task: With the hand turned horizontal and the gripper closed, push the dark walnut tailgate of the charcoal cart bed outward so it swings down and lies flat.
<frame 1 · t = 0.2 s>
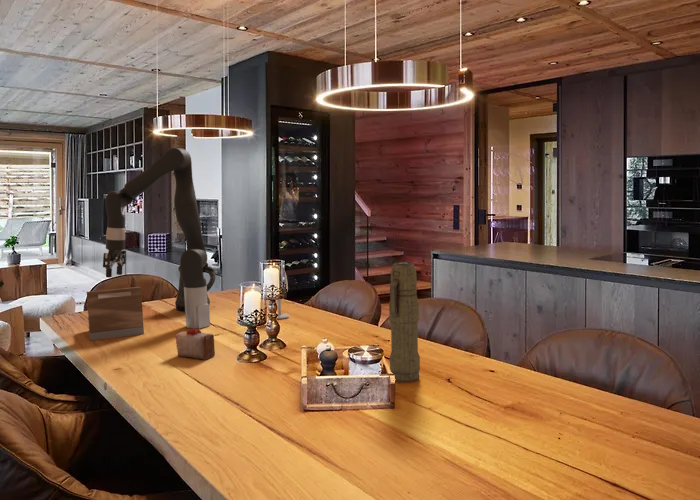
hand: (114, 275, 248), 22 cm above the table, tool pointing down, fingers open, 8 cm apart
food item: (195, 356, 204), on the table
wineglass: (279, 317, 260), on the table
beer stein: (196, 308, 285), on the table
cart bed: (116, 332, 240), on the table
tailgate: (115, 309, 231), point 11 cm above the table, hinge at 0.0°
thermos: (404, 378, 175), on the table
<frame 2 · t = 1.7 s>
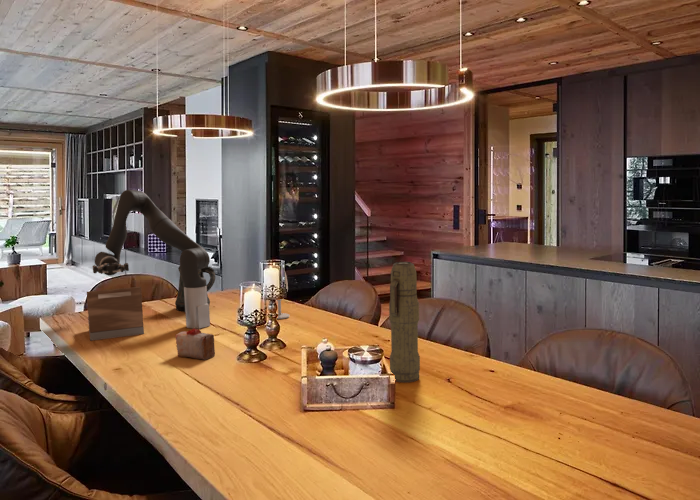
hand: (112, 270, 235), 26 cm above the table, tool horizontal, fingers open, 7 cm apart
nothing on the table moved.
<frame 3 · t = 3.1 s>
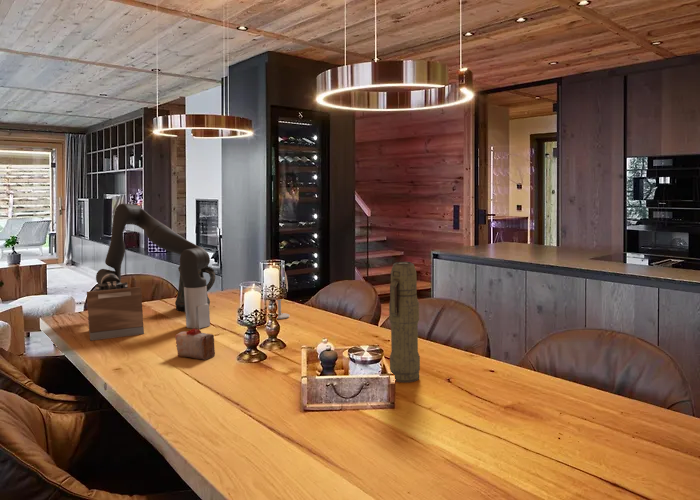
hand: (113, 290, 236), 18 cm above the table, tool horizontal, fingers closed
nothing on the table moved.
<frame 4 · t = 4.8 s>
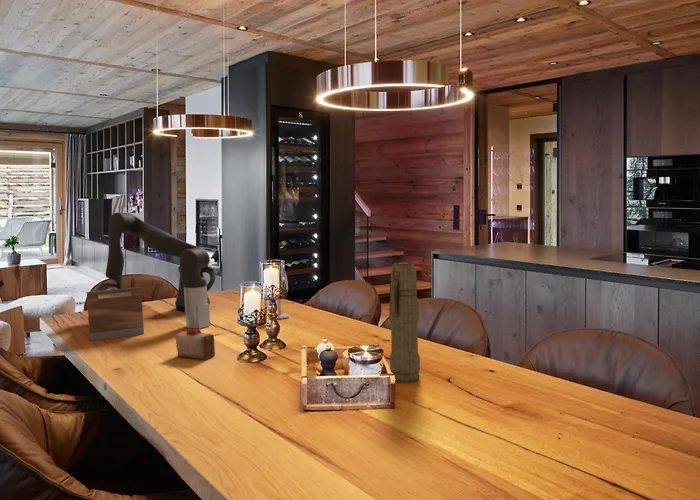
hand: (115, 304, 232), 13 cm above the table, tool horizontal, fingers closed
tailgate: (115, 309, 231), point 11 cm above the table, hinge at 2.2°, touching gripper
everything else where it was.
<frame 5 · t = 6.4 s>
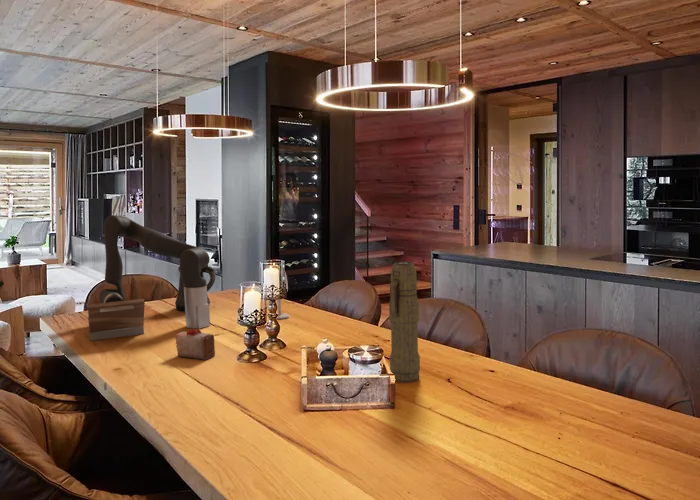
hand: (116, 310, 226), 12 cm above the table, tool horizontal, fingers closed
tailgate: (116, 316, 227), point 9 cm above the table, hinge at 41.9°, touching gripper
everything else where it was.
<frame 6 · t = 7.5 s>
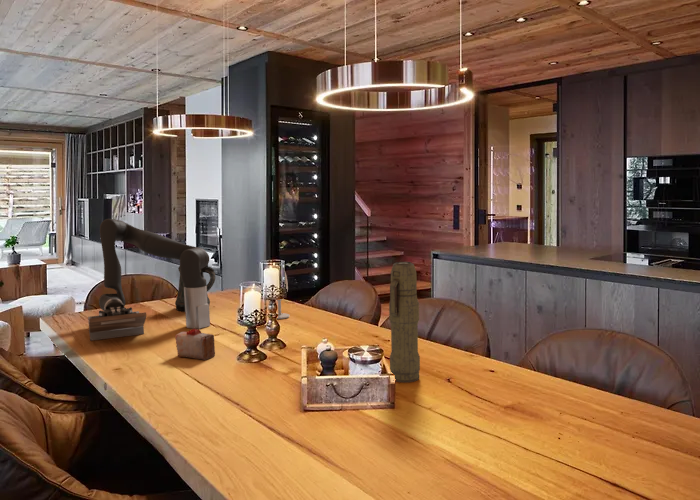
hand: (117, 316, 223), 10 cm above the table, tool horizontal, fingers closed
tailgate: (117, 323, 225), point 7 cm above the table, hinge at 63.9°, touching gripper
everything else where it was.
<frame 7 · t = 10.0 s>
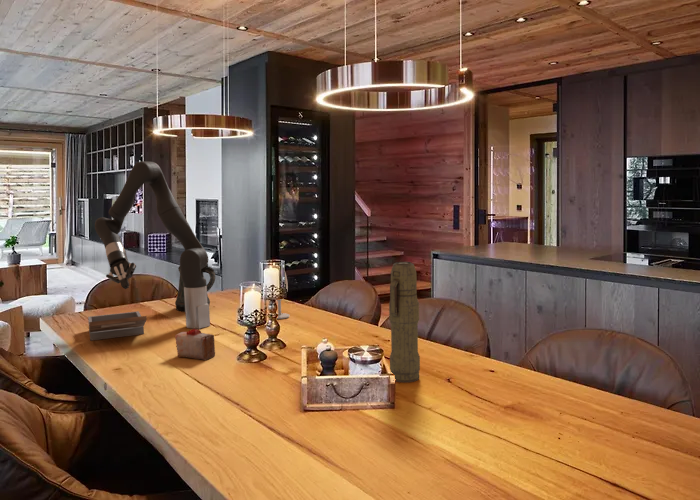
hand: (126, 287, 238), 19 cm above the table, tool tilted 45°, fingers closed
tailgate: (117, 325, 225), point 6 cm above the table, hinge at 68.9°
everything else where it was.
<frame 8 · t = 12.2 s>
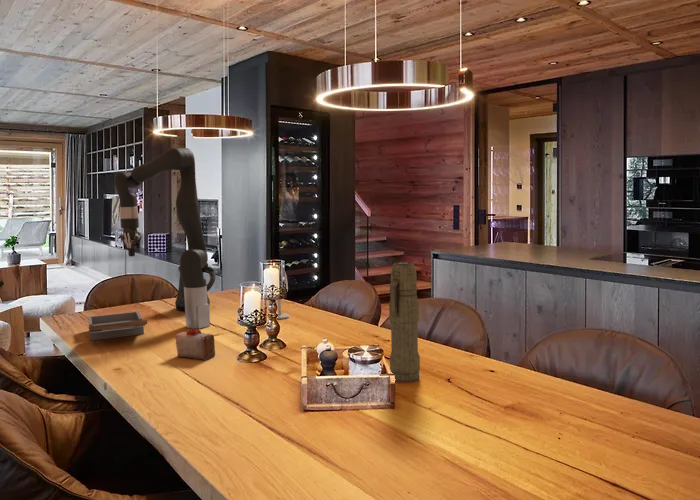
hand: (131, 256, 258), 29 cm above the table, tool pointing down, fingers closed
tailgate: (117, 327, 225), point 6 cm above the table, hinge at 74.5°
everything else where it was.
at the end: tailgate at +75° (first picture: +0°) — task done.
